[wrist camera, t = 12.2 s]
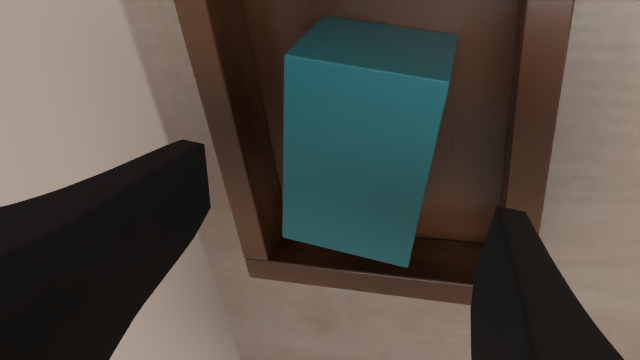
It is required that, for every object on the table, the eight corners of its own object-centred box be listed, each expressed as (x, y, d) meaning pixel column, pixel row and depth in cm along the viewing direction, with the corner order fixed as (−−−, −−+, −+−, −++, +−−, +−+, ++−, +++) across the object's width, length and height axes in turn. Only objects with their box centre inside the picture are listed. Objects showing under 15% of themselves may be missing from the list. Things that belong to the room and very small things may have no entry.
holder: (522, 256, 18) (526, 313, 16) (274, 232, 21) (249, 278, 19) (573, -121, 12) (593, -113, 9) (206, -77, 15) (155, -63, 12)
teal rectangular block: (314, 177, 18) (281, 237, 15) (323, 14, 14) (283, 54, 12) (421, 200, 17) (407, 268, 14) (458, 34, 14) (450, 81, 11)
